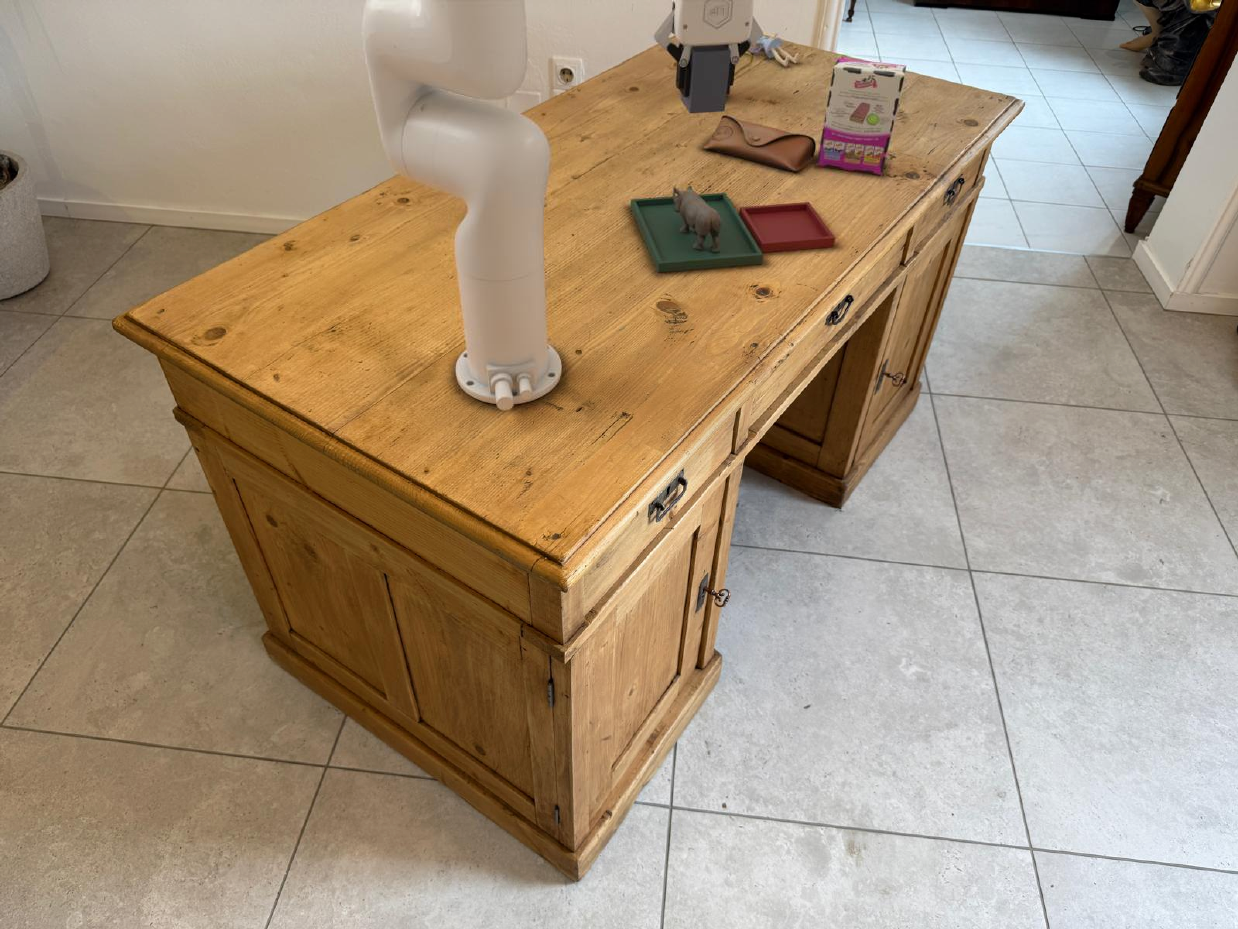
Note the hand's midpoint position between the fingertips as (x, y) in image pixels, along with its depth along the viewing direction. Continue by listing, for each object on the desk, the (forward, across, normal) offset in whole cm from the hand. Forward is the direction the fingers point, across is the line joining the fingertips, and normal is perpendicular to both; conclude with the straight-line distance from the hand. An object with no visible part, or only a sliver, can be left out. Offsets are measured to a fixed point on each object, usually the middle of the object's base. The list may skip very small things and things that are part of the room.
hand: (703, 90), depth 121 cm
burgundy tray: (+20, +13, -6) cm, 24 cm away
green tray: (+20, -1, -4) cm, 20 cm away
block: (+2, 0, 0) cm, 2 cm away
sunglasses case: (+20, +18, +21) cm, 34 cm away
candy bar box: (+20, +32, +14) cm, 40 cm away
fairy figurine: (+20, +36, +66) cm, 78 cm away
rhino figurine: (+19, -1, -4) cm, 20 cm away
